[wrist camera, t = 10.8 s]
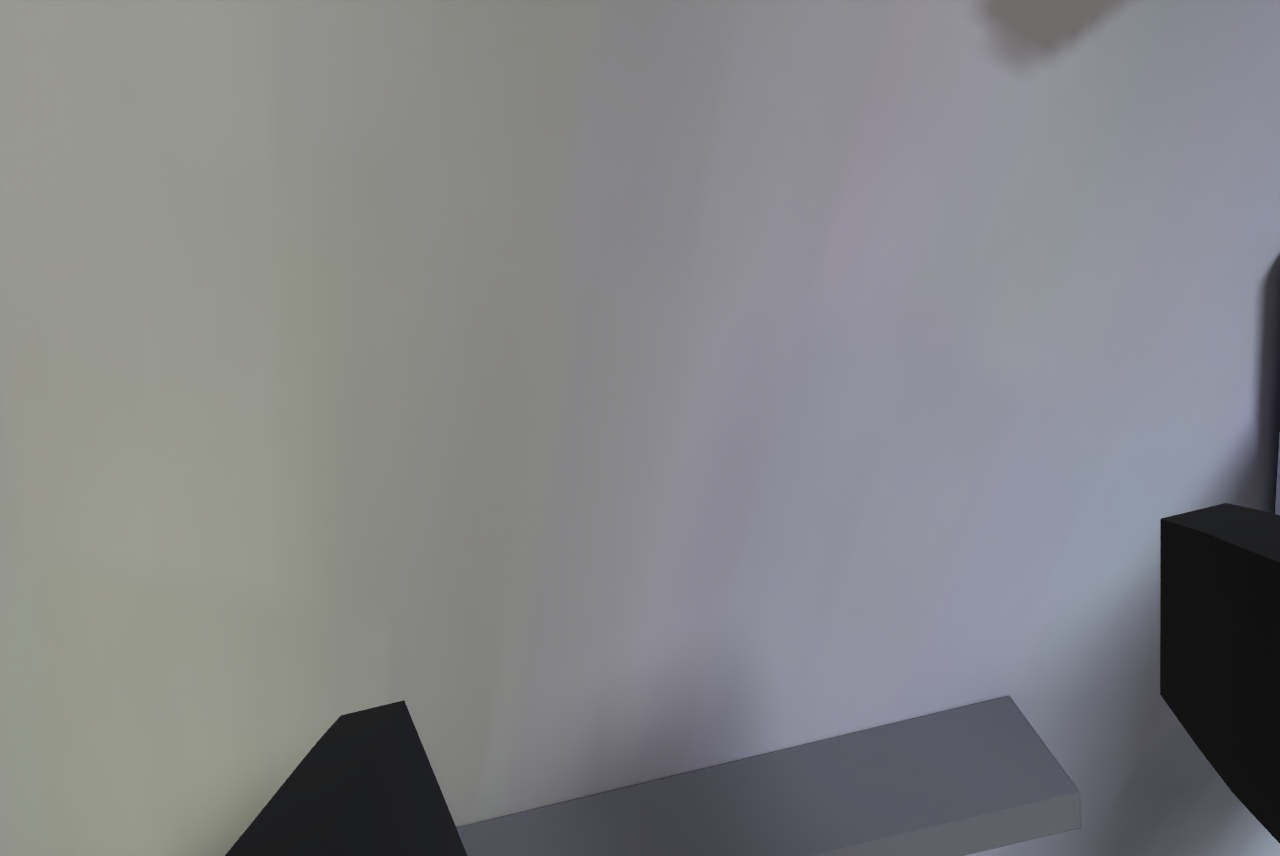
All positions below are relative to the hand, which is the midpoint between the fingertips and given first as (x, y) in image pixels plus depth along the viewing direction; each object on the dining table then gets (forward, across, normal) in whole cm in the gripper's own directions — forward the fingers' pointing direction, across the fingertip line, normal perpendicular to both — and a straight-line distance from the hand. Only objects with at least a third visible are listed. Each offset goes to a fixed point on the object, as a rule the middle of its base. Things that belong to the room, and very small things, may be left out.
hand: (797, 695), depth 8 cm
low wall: (+9, +4, +10) cm, 14 cm away
